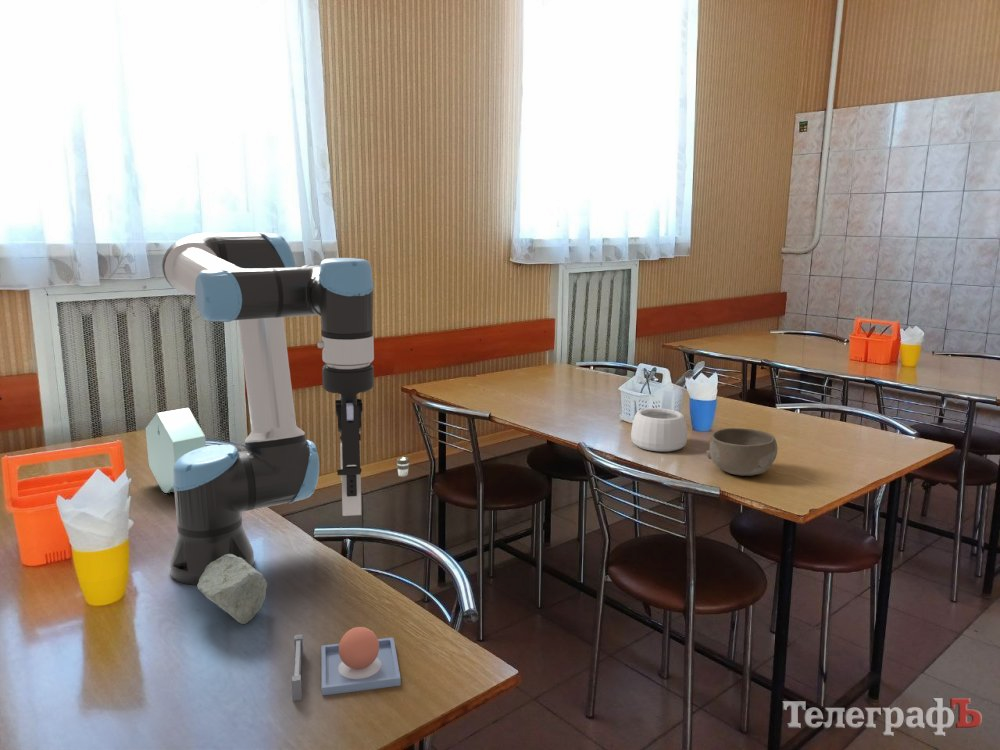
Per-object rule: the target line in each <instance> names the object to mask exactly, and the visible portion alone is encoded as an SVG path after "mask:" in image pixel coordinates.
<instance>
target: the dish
mask: <svg viewBox="0 0 1000 750" xmlns="http://www.w3.org/2000/svg"><path fill="white" fill-rule="evenodd" d="M394 639H395V638H394V637H385V638H378V641H379V652H378V655H377V657H376V659H375V661H374V662H373V663H372V664H371V665H369V666H368V667H366V668H363V669H352V668H350V667H348V666H346V665H345V664H344V663H343V661H342V660H341V658H340V655H339V644H340V643H333V644H332V643H331V644H324V645H321V649H320V650H321V652H320V653H321V696H327V695H329V696H330V695H334V694H335V695H336V694H343V693H352V692H359V691H368V690H376V689H384V688H391V687H400V686H401V685H402V684H401V683H402V682H401V673H400V668H399V667H400V666H399V662H398V655H397V650H396V644H395V640H394Z"/></svg>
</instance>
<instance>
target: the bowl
mask: <svg viewBox="0 0 1000 750" xmlns="http://www.w3.org/2000/svg"><path fill="white" fill-rule="evenodd" d="M777 455H778V443H777V441H776V438H775V436H774V435H773V434H771V433H769V432H766V431H762V430H758V429H753V428H742V427H741V428H740V427H739V428H737V427H731V428H730V427H728V428H727V427H726V428H725V427H724V428H720V429H717V430H715V431H713V432H712V433H711V435H710V439H709V449H706V456H707V458H708V459H709V460H712V462H713V464H714V465H715V466H716V467H717V468H718V469H720V470H722V471H723V472H726V473H728V474H732V475H735V476H744V477H745V476H747V477H752V476H755V475H761V474H764V473H765V472H767V471H768V469H770V467H771V466H772V465H773V463H774V462H775V460H776V458H777V457H778V456H777Z"/></svg>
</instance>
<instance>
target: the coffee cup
mask: <svg viewBox="0 0 1000 750" xmlns="http://www.w3.org/2000/svg"><path fill="white" fill-rule="evenodd" d="M395 464H396V466H397V467H396V468H397V474H398V477H403V478H405V477H407V476H408V475H409V468H410V458H409V457H406V456H405V457H404V456H400V457H398V458H397V459H396V462H395Z"/></svg>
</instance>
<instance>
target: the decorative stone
mask: <svg viewBox="0 0 1000 750" xmlns="http://www.w3.org/2000/svg"><path fill="white" fill-rule="evenodd" d="M196 586H197V589H198V590H199V591H200V592H201V593H202V594H203V595H204V596H205V597H206V598H207V599H208V600H209V601H211V602H213V603H214V604H216V605H217V607H219V608H220V609H221V610H223V612H225V613H227V614H228V615H229V616H230V617H231V618H233V620H235V621H236V622H237V623H239V624H242V625H244V624H245V625H246V624H247V623H248V622H250V621H251V620H253V619H254V617H255V616H256V614H257V613H259V612H260V610H261V609H262V607H263V605H264V604H263V603H264V602H265V600H266V599H267V597H266V595H267V588H268V582H267V580H266V579H265V578H264V574H263V573H261V572H260V571H258V570H257V569H256V568H255V567H254V566H253V567H252V566H251V565H249V564H248V563H247V562H246V561H245V560H243V559H242V558H240V557H237V556H235V555H233V554H226V555H224V556H222V557H220V558H218V559H217V560H215V561H213V562H211V563H210V564H209V565H207V566H206V568H205V571H204V573H203V574H202V575H201V577H200V579H199V583H198V584H197V585H196Z"/></svg>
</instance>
